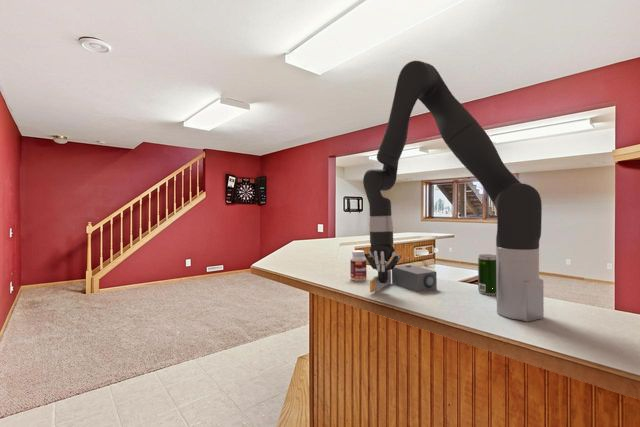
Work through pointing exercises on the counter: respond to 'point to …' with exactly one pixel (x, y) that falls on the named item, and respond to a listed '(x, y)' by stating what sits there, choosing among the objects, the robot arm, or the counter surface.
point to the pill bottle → (358, 266)
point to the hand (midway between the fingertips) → (383, 282)
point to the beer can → (487, 274)
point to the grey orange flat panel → (376, 285)
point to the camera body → (414, 278)
